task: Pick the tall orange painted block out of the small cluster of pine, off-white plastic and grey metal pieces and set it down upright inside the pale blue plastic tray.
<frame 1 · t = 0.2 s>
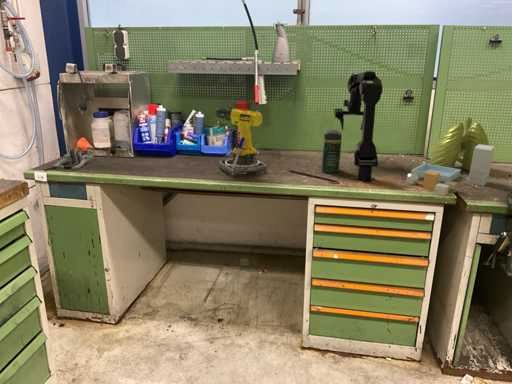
hand: (351, 129, 207), 15 cm above the workbench, fingers open, 9 cm apart
bike brake: (71, 167, 194), on the workbench
offwhite block: (440, 194, 162), on the workbench
lungs: (456, 169, 199), on the workbench
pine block: (449, 191, 165), on the workbench
cordless drill: (240, 169, 192), on the workbench
orange block: (430, 187, 170), on the workbench
grey metal puck: (412, 183, 174), on the workbench
parts tray: (435, 176, 185), on the workbench
crowbar: (310, 178, 182), on the workbench
skincare box: (478, 183, 176), on the workbench
coffee jar: (330, 171, 192), on the workbench
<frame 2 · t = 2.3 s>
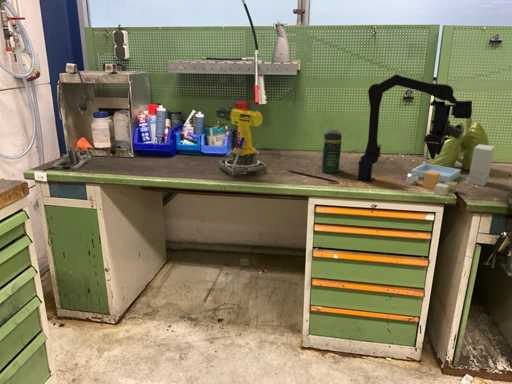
hand: (435, 156, 168), 12 cm above the workbench, fingers open, 9 cm apart
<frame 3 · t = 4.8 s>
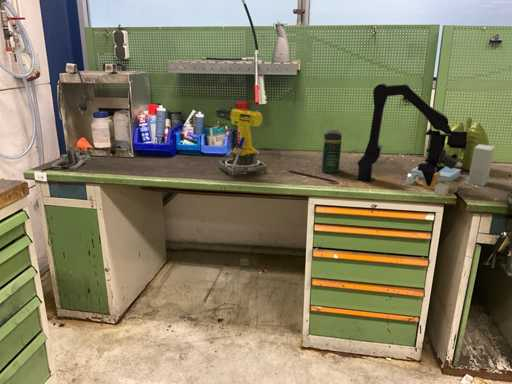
hand: (430, 184, 169), 1 cm above the workbench, fingers closed on orange block, 4 cm apart
orange block: (430, 187, 170), on the workbench, touching gripper
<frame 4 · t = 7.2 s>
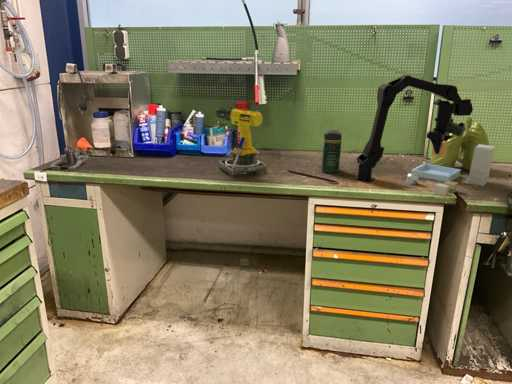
hand: (439, 152, 178), 11 cm above the workbench, fingers closed on orange block, 4 cm apart
orange block: (438, 155, 178), point 10 cm above the workbench, touching gripper
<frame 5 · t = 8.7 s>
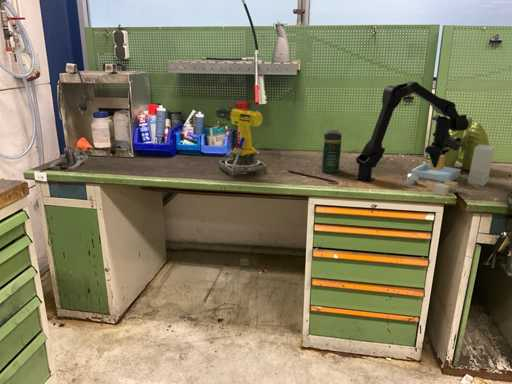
hand: (436, 166, 184), 4 cm above the workbench, fingers closed on orange block, 4 cm apart
orange block: (436, 168, 184), point 3 cm above the workbench, touching gripper
when the fingers open (3 cm above the workbench, at t = 9.7 s): orange block drops 1 cm, resting on parts tray.
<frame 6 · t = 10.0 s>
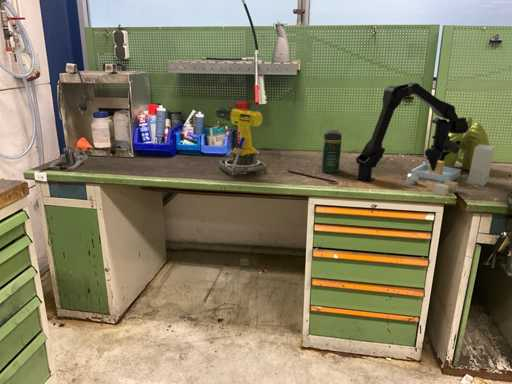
hand: (436, 169, 184), 3 cm above the workbench, fingers open, 7 cm apart
orange block: (435, 174, 185), point 1 cm above the workbench, touching parts tray
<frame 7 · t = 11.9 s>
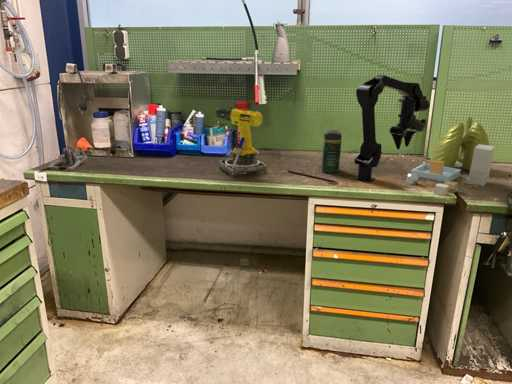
hand: (402, 147, 186), 12 cm above the workbench, fingers open, 9 cm apart
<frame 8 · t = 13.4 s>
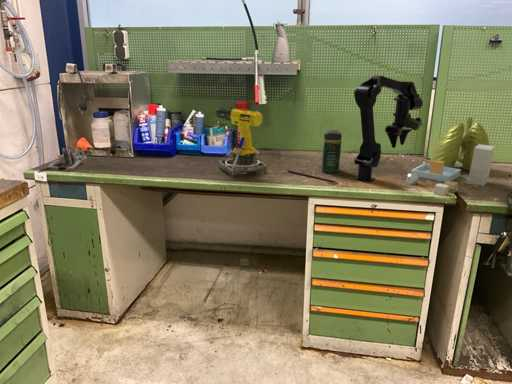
hand: (397, 146, 187), 12 cm above the workbench, fingers open, 9 cm apart
at the end: orange block inside the target area on the parts tray (0.1 cm from its centre), point 0.8 cm above the parts tray's base; orange block tilted 0°; the gripper is holding nothing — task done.
